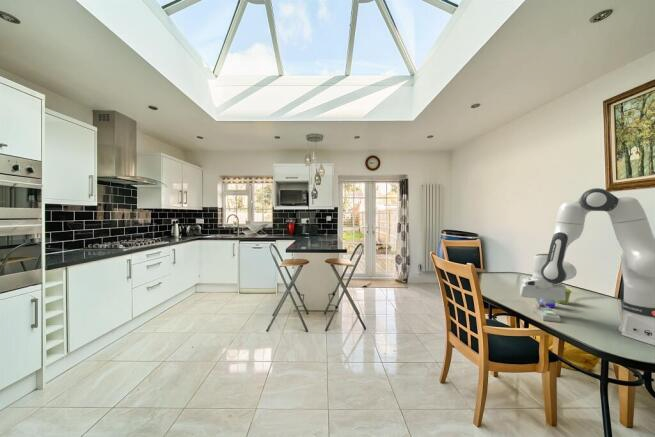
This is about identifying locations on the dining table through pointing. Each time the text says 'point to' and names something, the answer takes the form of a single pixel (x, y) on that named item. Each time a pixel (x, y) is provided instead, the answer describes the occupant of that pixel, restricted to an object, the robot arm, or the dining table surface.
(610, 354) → the dining table surface
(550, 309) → the key slate
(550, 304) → the bottle
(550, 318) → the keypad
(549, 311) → the key sage
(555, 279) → the robot arm
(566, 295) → the plant pot
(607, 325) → the dining table surface
